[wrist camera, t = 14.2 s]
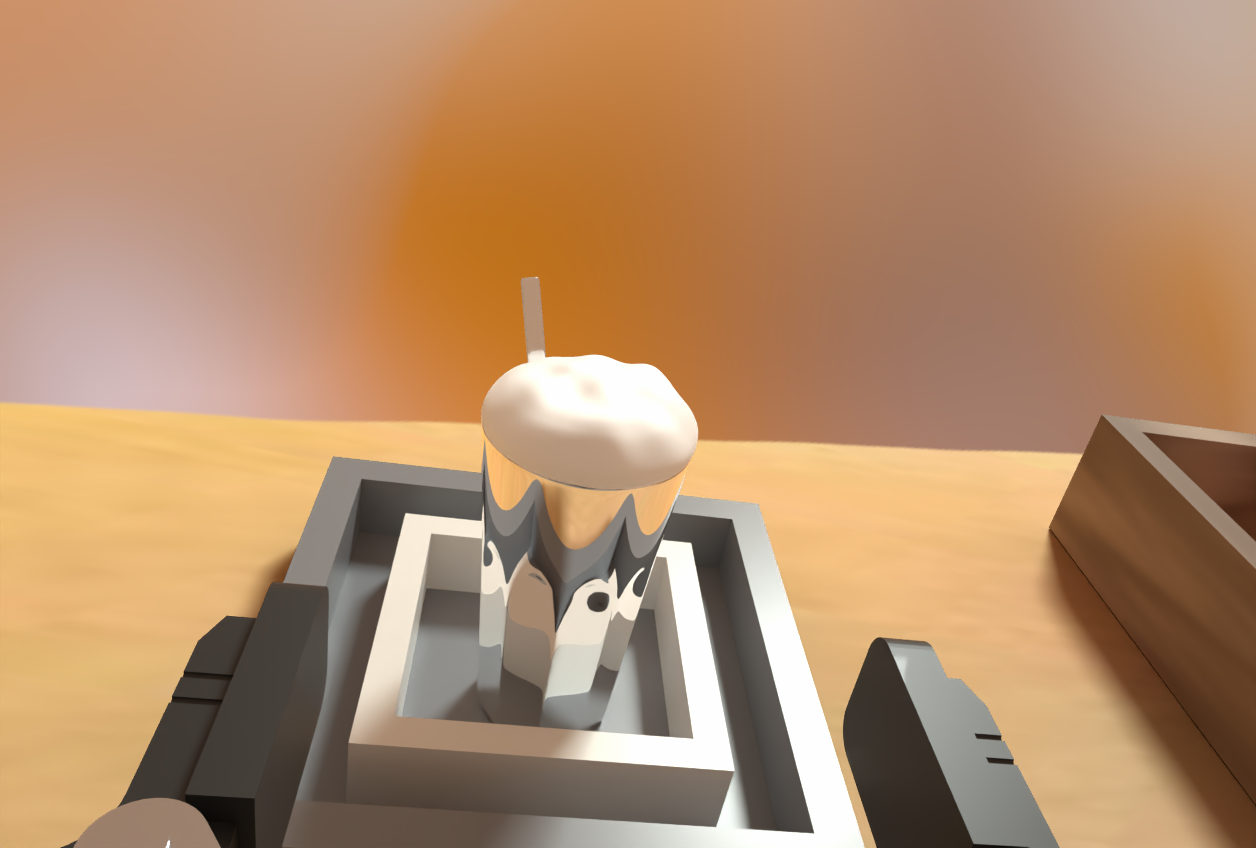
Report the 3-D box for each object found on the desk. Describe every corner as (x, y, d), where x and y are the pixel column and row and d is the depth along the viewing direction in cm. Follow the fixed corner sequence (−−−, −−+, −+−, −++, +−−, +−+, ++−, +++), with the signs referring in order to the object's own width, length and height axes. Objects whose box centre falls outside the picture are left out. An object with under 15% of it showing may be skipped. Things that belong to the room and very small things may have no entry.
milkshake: (557, 598, 27) (614, 270, 23) (666, 730, 24) (761, 372, 19) (407, 643, 25) (435, 284, 20) (504, 798, 21) (567, 405, 16)
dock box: (188, 925, 18) (180, 840, 17) (331, 525, 30) (333, 456, 28) (839, 956, 20) (875, 880, 19) (740, 566, 31) (758, 504, 30)
